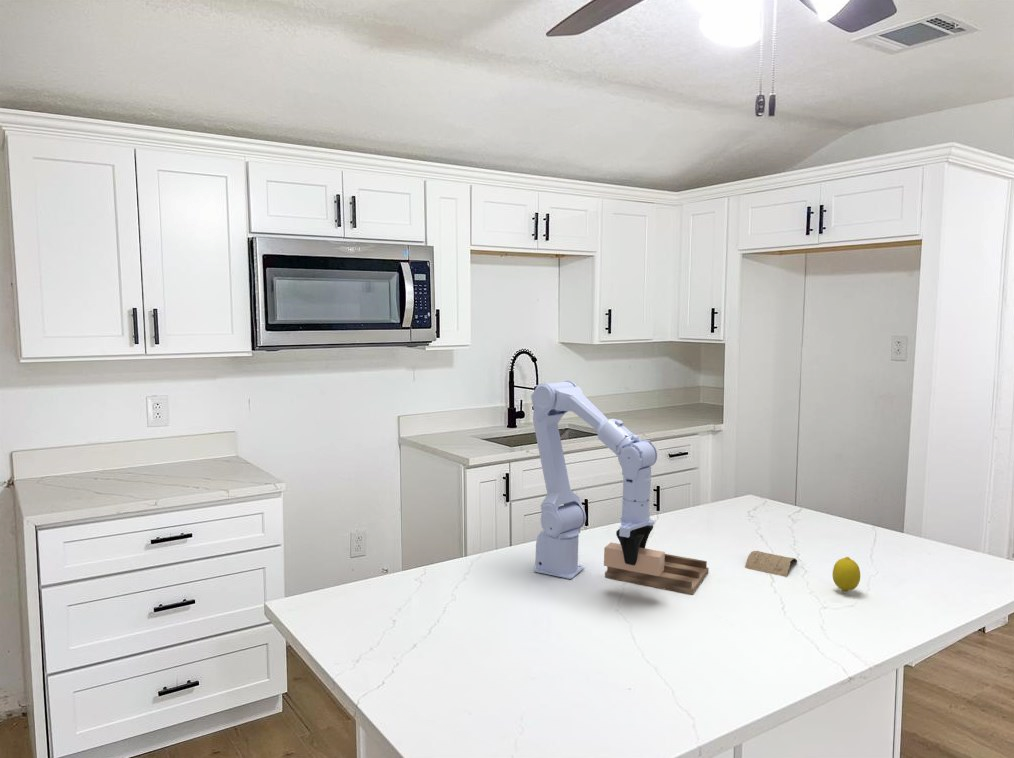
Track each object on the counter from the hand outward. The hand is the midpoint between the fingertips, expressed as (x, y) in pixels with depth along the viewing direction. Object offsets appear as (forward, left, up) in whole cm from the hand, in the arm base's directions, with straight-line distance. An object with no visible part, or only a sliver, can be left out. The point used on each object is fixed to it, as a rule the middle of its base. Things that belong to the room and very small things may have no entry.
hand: (633, 560), depth 159 cm
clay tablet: (+23, +36, -9) cm, 44 cm away
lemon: (+40, +26, -8) cm, 48 cm away
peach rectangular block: (0, 0, -2) cm, 2 cm away
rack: (+1, +15, -8) cm, 17 cm away
